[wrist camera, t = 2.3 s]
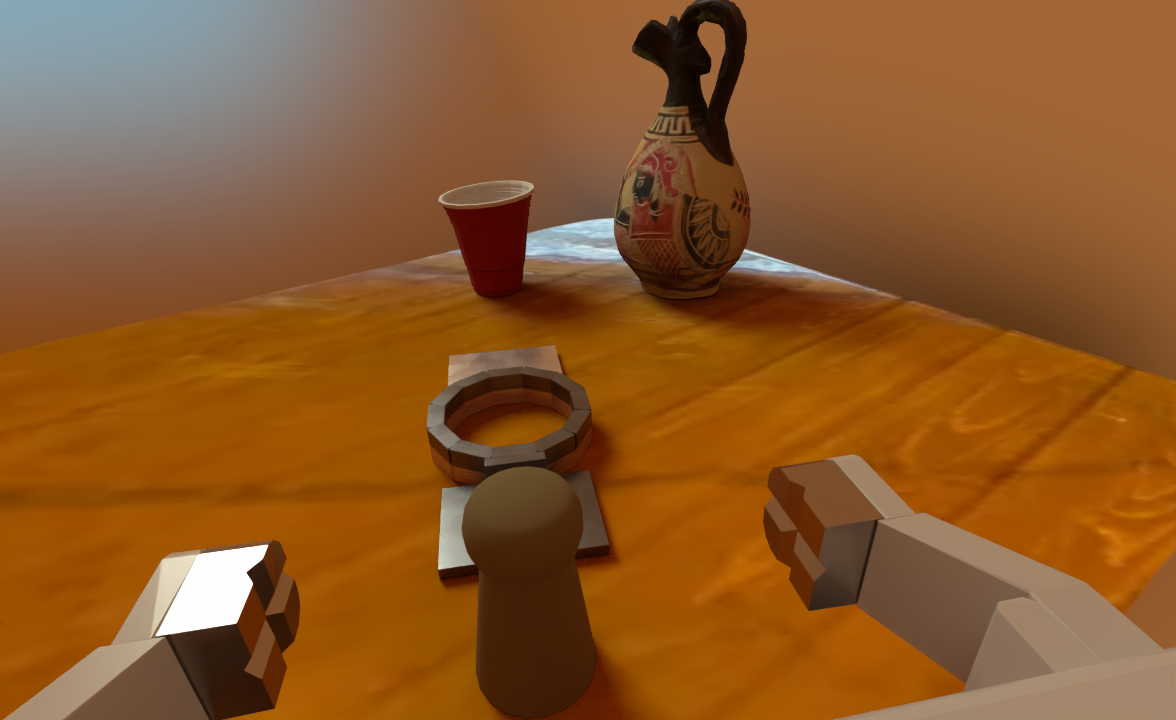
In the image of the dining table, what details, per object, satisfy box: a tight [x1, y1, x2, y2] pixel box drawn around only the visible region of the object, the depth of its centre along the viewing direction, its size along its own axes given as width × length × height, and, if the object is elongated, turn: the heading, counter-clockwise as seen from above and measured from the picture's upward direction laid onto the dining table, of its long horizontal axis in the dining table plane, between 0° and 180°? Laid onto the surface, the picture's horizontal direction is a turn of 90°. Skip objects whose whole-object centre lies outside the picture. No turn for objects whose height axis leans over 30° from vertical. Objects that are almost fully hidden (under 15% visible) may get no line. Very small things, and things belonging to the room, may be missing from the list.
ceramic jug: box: [614, 0, 751, 299], centre depth 65 cm, size 17×15×30 cm
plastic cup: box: [438, 181, 534, 297], centre depth 71 cm, size 11×11×12 cm
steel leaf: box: [430, 345, 592, 485], centre depth 50 cm, size 12×19×1 cm, turn 10°
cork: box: [461, 467, 596, 719], centre depth 28 cm, size 6×6×11 cm
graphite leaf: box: [427, 366, 609, 579], centre depth 43 cm, size 12×19×3 cm, turn 10°
